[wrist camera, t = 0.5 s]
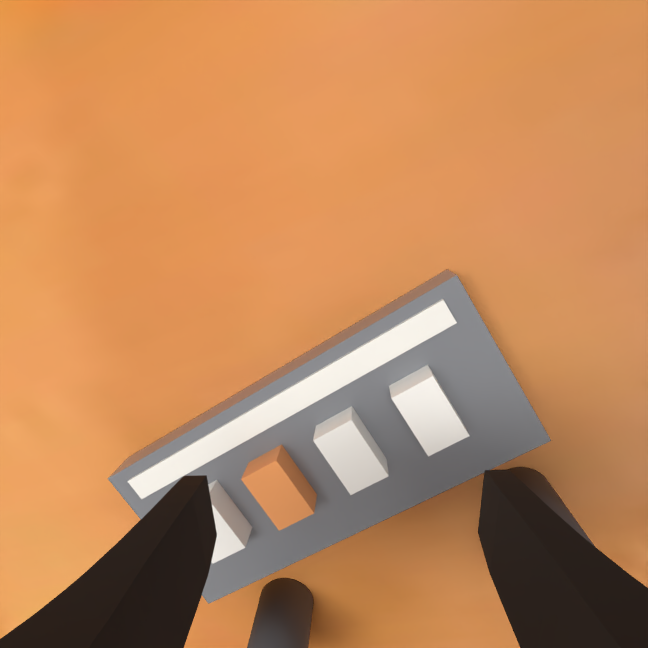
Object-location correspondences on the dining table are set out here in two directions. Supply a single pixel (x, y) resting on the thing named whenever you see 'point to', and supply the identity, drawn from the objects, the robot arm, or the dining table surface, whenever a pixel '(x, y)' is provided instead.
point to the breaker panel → (345, 435)
